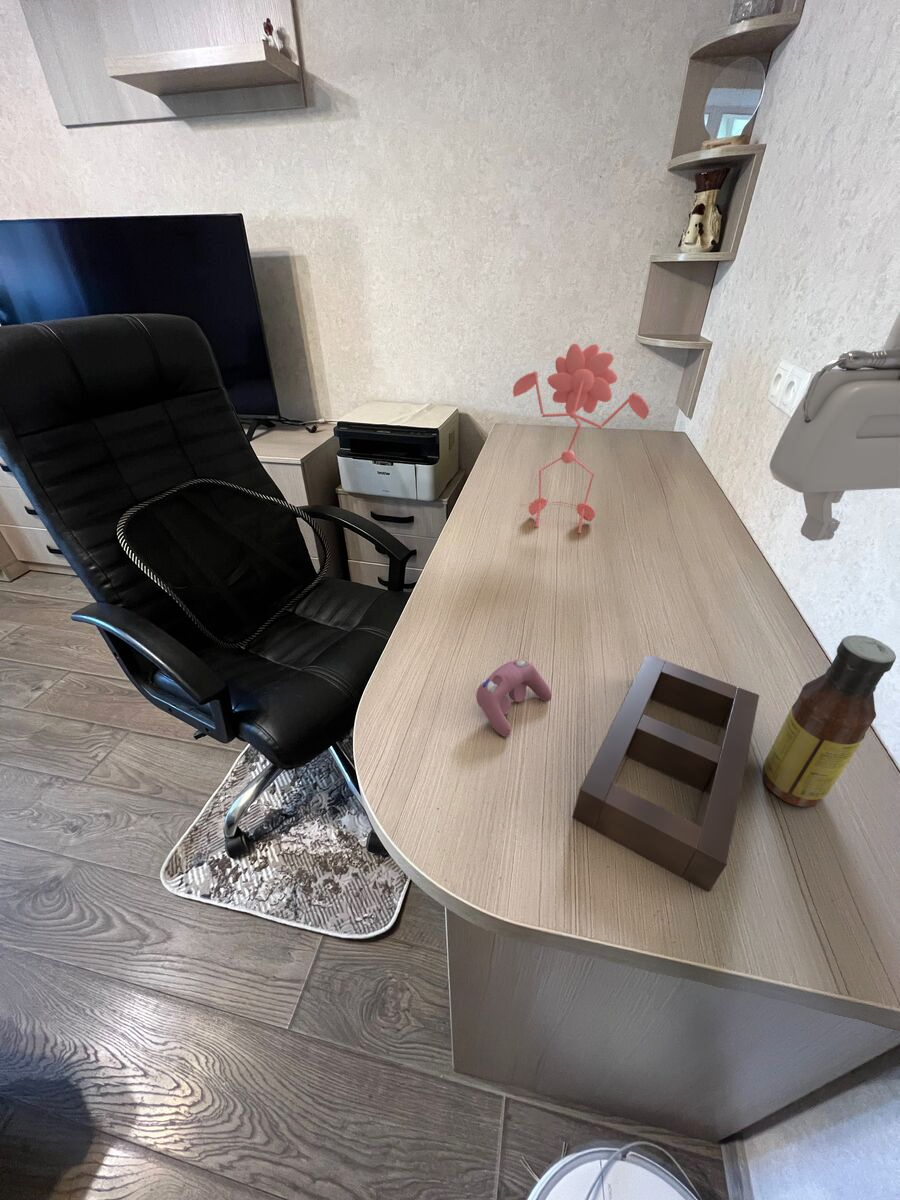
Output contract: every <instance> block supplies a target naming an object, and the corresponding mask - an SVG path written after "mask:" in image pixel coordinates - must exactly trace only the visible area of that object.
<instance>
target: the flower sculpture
mask: <svg viewBox="0 0 900 1200" xmlns="http://www.w3.org/2000/svg"><path fill="white" fill-rule="evenodd" d="M599 349H600V348H599V345H598V344H597V343H594V344H590V345H589V346H587V347H585V349H584V350H582V349H581V347H580V345H579V344H578V343H571V345H569V348H568V350H567V352H566V356H565V357H563V356H558V357H557V358H556V360H555V371H556V372H557V373H552V374H551V375H549V376H548V378H547V383H548V385H549V386H550V387H551V388H552V389H554V392H553V394H552V401H553V402H554V403H555V404H556V403H558V404H565V405H564V409H565V413H564V412H563V413H544V407H543V403H542V396H541V392H540V386H539V380H538V379H539V375H538V372H537V371H536V370H534V371H533V372H529V373H525V375H523V376H521V377H520V378H519V379H518V380H517V381H516V382H515V384H514V385H513V387H512V394H513V398H515V397H518V396H521V395H523V394H525V393H527V392H528V391H530V390H531V389H532V388H534V386H535V388H536V389H535V390H536V394H537V400H538V406H539V411H540V415H542V416H541V418H554V417H555V418H557V417H570V418H571V419H573V420H574V421H575V423H576V424H577V427H576V429H575V431H574V434H573V436H572V439H571V442H570V443H569V447H568V449H566V450H564V451H563V452H562V453H561V456H560V457H559V458H557V459H556V460H554V461H552V462H550V463H549V464H547V465H545V466H544V467H542V468H540V469H539V471H538V498H536V499H535V500H533V501H531V502H529V503H525V504H520V505H519V506H520V507H522V506H525V505H526V506H527V505H529V506H528V513H529V514H530V516H532V517H533V516H535V515H536V519H535V524H534V527H535V528H538V527H539V522H540V515H541V511H543V509H544V508H545V507H546V506H547V505H548V504H547V503H548V501H547V498H546V497H544V496H543V497H542V471H543V470H545V469H547V468H549V467H550V466H552V465H554V464H556V463H557V462H559V461H562V462H563V463H564V464H572V463H573V462H576V463H577V464H578V465H579V466H580V467H582V468H583V469H585V471H587V472H588V473H589V474H591V477H590V481H589V484H588V489H587V492H586V495H585V498H584V502H579V503H577V505H576V504H572V503H569V505H570V506H575V507H576V513H577V514H578V515H579V516H580V518H579V523H578V530H577V534H581V532H582V526H583V520H585V521H587V522H588V523H590V522H591V521H592V520H594V518H595V517H596V511H595V509H594V508H593V507H592V506H591V504H589V503H587V500H588V499H589V498H588V497H589V494H590V491H591V486H592V482H593V480H594V476H595V475H594V472H593V471H591V470H590V468H588V467H586V466H585V465H584V464H583V463H581V462H580V461H579V460H578V459H577V458H575V457H576V455H575V452H574V451H573V450H571V449H572V447H573V444H574V443H575V440H576V439H577V436H578V433H579V431H580V429H581V426H582V423H581V422H580V421H582V422H584V423H587V424H588V425H591V426H593V427H596V428H598V429H600V430H601V429H602V428H604V427H605V426H606V425H607V424H608V423H609V421H611V420H612V419H613V418H615V416H616V415H617V414H618V413H619V412H620V411H621V410H622V409H623V408H624V407H626V405H627V404H628V405H629V407H630V409H631V410H632V411H633V412H634V413H635V414H636V415H637V416H638V417H639V418H640V419H641V420H643V421H644V420H646V419H647V417H648V415H649V414H650V407H649V405H648V403H647V401H645V399H644V398H643V397H642V396H641V395H639V394H637V392H635V391H633V392H632V393H630V394H629V396H628V398H627V399H626V400H625V401H624V402H623V403H622V404H621V405H620V406H619V407H618V408H617V409H616V410H615V411H614V412H613V413H611V414H610V415H609V416H608V418H607V419H606V420H604V421H603V422H602V423H601V424H599V423H596V422H594V421H592V420H590V419H588V418H585V417H583V416H580V415H578V414H577V412H578V411H580V410H581V409H583V411H584V412H585V413H587V414H593V413H594V412H595V410H596V408H597V406H598V403H599V402H603V403H608V402H610V401H611V399H612V389H611V386H610V385H613V384H614V383H616V382H617V381H618V376H617V374H616V372H614V370H613V369H611V368H609V367H610V366H611V365H612V363H613V361H614V355H613V354H612V353H611V352H605V351H603V352H599ZM553 503H554V504H561V501H559V500H558V501H553ZM563 504H564V505H568V503H567V502H563ZM609 536H610V535H608V536H607V538H609Z"/></svg>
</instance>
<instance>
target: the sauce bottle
mask: <svg viewBox="0 0 900 1200" xmlns="http://www.w3.org/2000/svg"><path fill="white" fill-rule="evenodd" d="M896 659H897V656H896V653H895V651H894V650H893V649H892V648H891V647H890V646H889V645H888V644H887V645H886V644H885V643H883V642H882V641H880V640H878V639H876V638H874V637H871V636H866V635H860V634H854V635H853V634H852V635H847V636H845V637H844V638H842V639H841V641H840V642H839V645H838V646H837V648H836V655H835V657H834V659H833V660H832V663H831V665H830V666H829V667H828V668H827V670H826V671H825V673H823V674H821V675H820V676H818V677H817V678H815V679H812V680H810V681H809V682H806V683H805V684H804V685H803V686H802V689H801V691H800V693H799V695H798V697H797V699H796V700H795V701H794V703H793V704H792V706H791V707H790V710H789V712H788V714H787V715H786V718H785V719H784V722H783V724H782V725H781V727H780V729H779V731H778V733H777V735H776V737H775V740H774V742H773V743H772V745H771V748H770V749H769V752H768V753H767V755H766V758H765V760H764V762H763V765H762V772H761V773H762V778H763V782H764V784H765V786H766V788H767V789H768V790H769V791H771V792H772V793H773V794H774V795H775V796H776V797H778V798H779V799H781V800H782V801H784V802H785V803H788V804H790V805H793V806H796V807H801V808H802V807H803V808H812V807H815V806H817V805H818V804H820V803H821V802H822V801H823V799H824V798H825V797H827V796H828V795H829V793H830V792H831V790H832V788H833V787H834V786H835V784H836V782H837V781H838V779H839V778H840V776H841V775H842V773H843V772H844V771H845V768H846V767H847V766H848V764H849V763H850V761H851V760H852V758H853V757H854V755H855V753H856V752H857V750H858V748H859V747H860V745H861V744H862V742H863V741H864V739H865V737H866V733H867V731H868V730H869V728H870V726H871V725H872V724H873V722H874V720H875V719H876V717H877V712H876V707H875V705H876V704H875V696H874V695H875V694H874V693H875V691H876V689H877V686H878V684H879V683H880V681H881V680H882V678H883V677H884V674H885V673H888V672H890V671H891V669H892V667H893V666H894V663H895V662H896Z"/></svg>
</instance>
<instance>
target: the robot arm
mask: <svg viewBox="0 0 900 1200" xmlns="http://www.w3.org/2000/svg"><path fill="white" fill-rule="evenodd" d="M835 367H838V368H835ZM769 470H770V473H771V477H772V478H773V479H774V480H775V481H777V482H778V483H780V484H782V485H783V486H785V487H786V488H789V489H791V490H793V491H795V492H798V493H801V494H802V497H803V502H804V507H805V512H806V513H805V514H806V516H805V518H804V521H803V523H802V526H801V527H800V534H801V536H803V537H804V538H806V539H807V540H809V541H811V542H819V541H820V542H821V541H830V540H832V539H833V538H834V536H835V532H836V531H837V530H838V529H839V527H840V524H841V521H840V520H838V519H836V518H834V517H833V509H832V507H833V505H832V504H837V503H838V504H839V502H841V500H842V498H843V496H844V493H845V492H847V491H848V492H849V491H850V492H851V491H866V490H867V491H868V490H869V491H871V490H888V489H900V310H899V312H898V314H897V315H896V318H895V321H894V323H893V325H892V327H891V329H890V332H889V334H888V335H887V338H886V339H885V342H884V345H883V346H882V349H881V350H876V351H875V350H874V351H865V350H856V349H855V350H849V351H845V352H843V353H841V354H840V355H839V356H838V358H836V359H834V360H832V361H830V362H828V363H827V364H825V365H824V366H823V367H822V368H821V369H819V370H818V371H816V372H815V374H814V375H813V377H812V378H811V380H810V382H809V385H808V388H807V390H806V393H805V394H804V395H803V397H802V398H801V400H800V401H799V403H798V404H797V406H796V408H795V410H794V412H793V413H792V415H791V417H790V419H789V421H788V423H787V425H786V427H784V430H783V432H782V434H781V436H780V438H779V440H778V442H777V445H776V447H775V448H774V451H773V454H772V456H771V459H770V461H769Z"/></svg>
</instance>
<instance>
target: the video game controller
mask: <svg viewBox="0 0 900 1200" xmlns="http://www.w3.org/2000/svg"><path fill="white" fill-rule="evenodd" d="M527 688H529V689H530V690H531V691H532V692H533V693H534V695H536V696H537V697H538V698H539V699H540V700H542V701H544V702H550V701H551V700H552V692H551V689H550V687H549V685H548V684H547V683H546V681H545V680H544V678H543V677H542V676H541V675H540V673H539V671H538V670H537V669H536V667H535V665H533V664H532V663H530V662H529V661H525V660H522V659H515V660H511V661H508V662H506V663H504V664H502V665H500V666H499V667H498V668H497V669H495V670H494V671H493V672H492V673H491V674H490V675H489V676H488V677H487V679H486V680H485V681H483V682H481V683H480V685H479V686H478V688H477V690H476V694H475V698H476V704H477V705H478V706H479V707H480V708H481V709H482V711H483V713H484V714H485V717H486V718H487V721H488V722H489V723H490V725H491V726H492V728H493V729H494V730H495V731H496V732H497V733H498V734H499V735H501V736H503V737H504V738H506V737H509V736H510V735H511V733H512V732H511V731H512V730H511V726H510V722H509V721H508V720H507V718H506V716H505V715H506V714H508V712H509V711H510V709H511V701H514V702H518V703H519V702H522V701H524V700H525V698H526V693H527ZM506 695H508V696H506Z"/></svg>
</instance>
